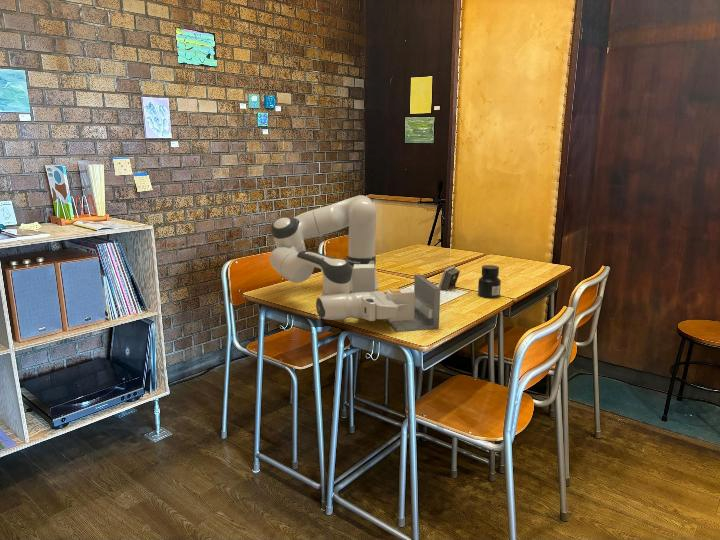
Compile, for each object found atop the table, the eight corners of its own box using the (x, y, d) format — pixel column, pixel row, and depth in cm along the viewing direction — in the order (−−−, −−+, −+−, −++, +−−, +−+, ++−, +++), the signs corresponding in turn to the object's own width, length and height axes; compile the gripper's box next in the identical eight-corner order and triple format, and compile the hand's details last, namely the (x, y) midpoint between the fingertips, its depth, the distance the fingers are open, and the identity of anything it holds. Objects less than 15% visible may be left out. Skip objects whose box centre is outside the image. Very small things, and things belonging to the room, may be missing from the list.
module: (389, 321, 190) (389, 292, 187) (385, 317, 194) (386, 288, 191) (414, 319, 192) (414, 290, 189) (409, 315, 196) (410, 287, 194)
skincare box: (375, 302, 215) (375, 263, 212) (375, 307, 209) (375, 267, 205) (353, 302, 216) (353, 263, 212) (353, 307, 209) (353, 267, 205)
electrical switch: (447, 285, 241) (450, 264, 238) (458, 288, 238) (461, 267, 235) (437, 289, 233) (440, 269, 231) (448, 293, 231) (451, 271, 228)
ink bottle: (498, 299, 219) (500, 270, 216) (476, 297, 222) (477, 268, 219) (501, 293, 228) (503, 265, 225) (479, 291, 231) (481, 263, 228)
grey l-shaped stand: (396, 331, 183) (397, 291, 179) (380, 313, 202) (380, 276, 198) (438, 328, 186) (440, 288, 183) (418, 310, 205) (419, 274, 202)
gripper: (357, 304, 199) (393, 302, 202) (371, 323, 180) (411, 319, 183) (357, 288, 198) (393, 285, 201) (372, 304, 178) (412, 301, 181)
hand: (402, 302), depth 192 cm, fingers open, 8 cm apart
